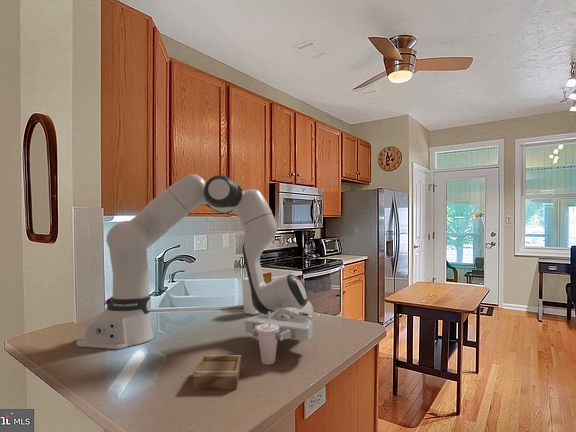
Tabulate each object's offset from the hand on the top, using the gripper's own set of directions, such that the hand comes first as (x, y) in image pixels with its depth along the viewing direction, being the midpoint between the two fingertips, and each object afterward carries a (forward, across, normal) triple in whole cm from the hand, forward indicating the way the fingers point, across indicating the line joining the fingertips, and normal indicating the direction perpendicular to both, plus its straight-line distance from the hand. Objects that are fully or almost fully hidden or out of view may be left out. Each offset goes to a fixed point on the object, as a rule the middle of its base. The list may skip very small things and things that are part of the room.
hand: (266, 335), depth 93 cm
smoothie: (-1, 0, +8) cm, 8 cm away
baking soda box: (-58, -33, +8) cm, 67 cm away
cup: (-45, -29, +8) cm, 54 cm away
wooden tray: (+13, -6, +8) cm, 17 cm away
